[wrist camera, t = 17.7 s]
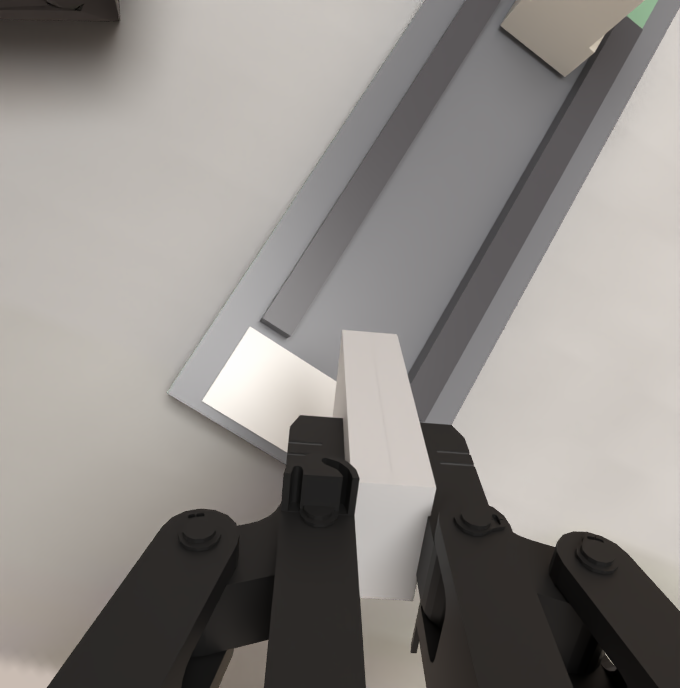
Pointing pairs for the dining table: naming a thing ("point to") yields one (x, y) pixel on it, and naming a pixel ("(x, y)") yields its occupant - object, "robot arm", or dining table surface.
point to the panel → (418, 219)
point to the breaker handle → (565, 27)
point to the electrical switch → (60, 10)
